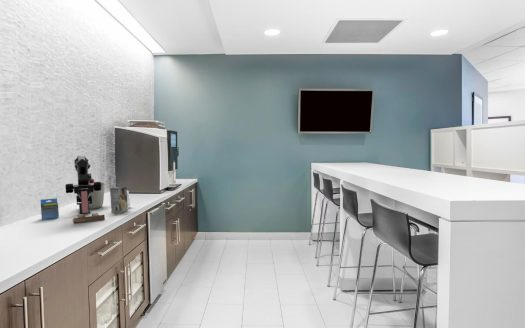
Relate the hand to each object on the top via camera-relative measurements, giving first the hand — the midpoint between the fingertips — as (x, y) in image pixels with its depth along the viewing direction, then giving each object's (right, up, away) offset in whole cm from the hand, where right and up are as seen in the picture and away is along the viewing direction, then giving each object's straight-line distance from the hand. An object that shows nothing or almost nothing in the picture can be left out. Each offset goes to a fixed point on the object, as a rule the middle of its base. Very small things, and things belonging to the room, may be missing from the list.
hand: (84, 198), depth 195 cm
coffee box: (+8, -12, +28) cm, 32 cm away
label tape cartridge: (-28, -14, +12) cm, 33 cm away
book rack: (+1, -13, +3) cm, 14 cm away
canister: (-19, -12, +47) cm, 51 cm away
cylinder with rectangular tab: (+4, -11, +44) cm, 45 cm away
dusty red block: (0, -8, +1) cm, 8 cm away
